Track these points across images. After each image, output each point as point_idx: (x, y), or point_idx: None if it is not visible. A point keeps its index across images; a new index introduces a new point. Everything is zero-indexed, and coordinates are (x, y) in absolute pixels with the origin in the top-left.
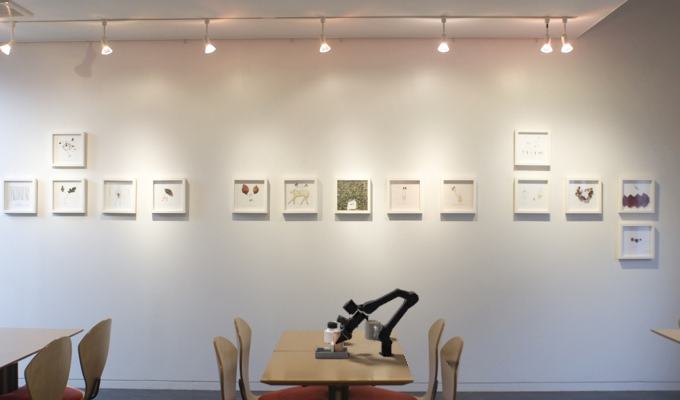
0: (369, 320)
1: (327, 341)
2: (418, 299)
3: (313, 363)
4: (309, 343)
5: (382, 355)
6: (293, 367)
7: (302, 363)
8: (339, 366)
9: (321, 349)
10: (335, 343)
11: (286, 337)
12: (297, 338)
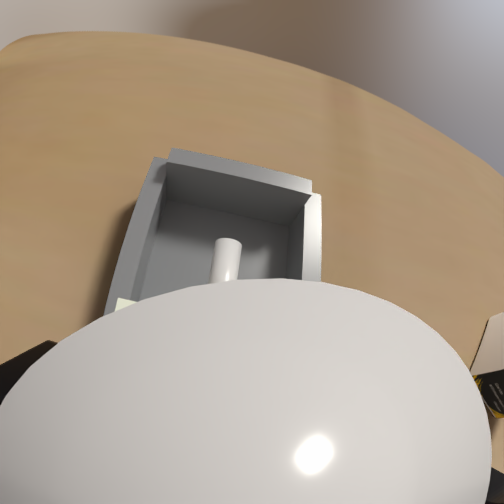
0: None
1: (490, 334)
2: None
3: (51, 162)
4: (465, 230)
5: None
6: (55, 79)
7: (86, 110)
8: None
9: (296, 248)
10: (50, 348)
11: (490, 167)
12: (497, 200)
